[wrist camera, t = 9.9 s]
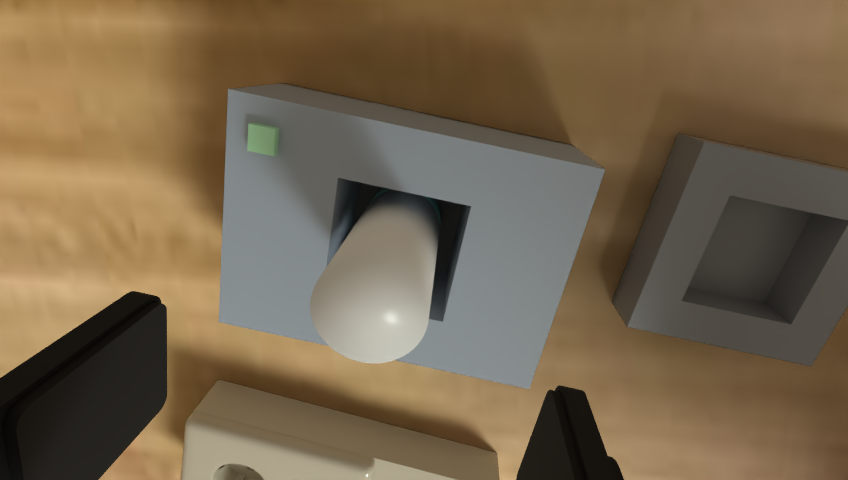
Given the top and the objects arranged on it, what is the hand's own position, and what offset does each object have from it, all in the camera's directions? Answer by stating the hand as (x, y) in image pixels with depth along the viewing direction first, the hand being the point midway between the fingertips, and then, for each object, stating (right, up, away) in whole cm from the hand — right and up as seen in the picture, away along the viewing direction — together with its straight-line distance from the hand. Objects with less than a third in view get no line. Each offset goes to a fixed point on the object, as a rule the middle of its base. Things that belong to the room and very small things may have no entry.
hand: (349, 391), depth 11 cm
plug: (+1, +5, +12) cm, 13 cm away
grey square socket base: (+17, +3, +12) cm, 21 cm away
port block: (+1, +5, +13) cm, 14 cm away
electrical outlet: (-3, -10, +20) cm, 22 cm away
